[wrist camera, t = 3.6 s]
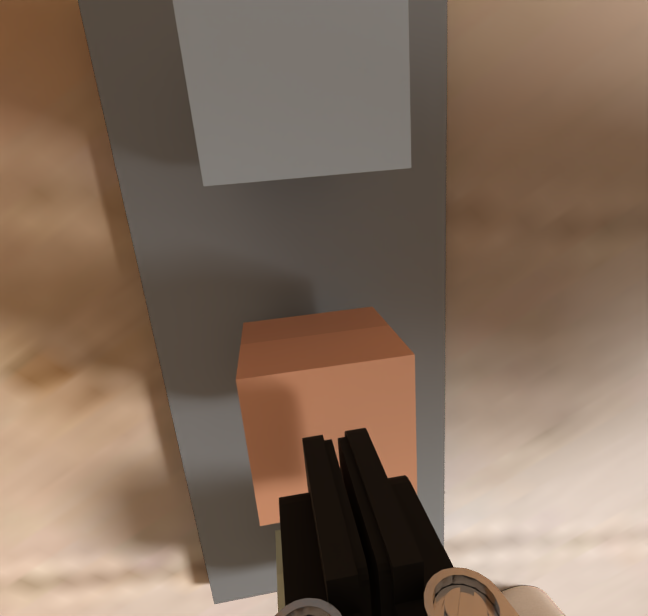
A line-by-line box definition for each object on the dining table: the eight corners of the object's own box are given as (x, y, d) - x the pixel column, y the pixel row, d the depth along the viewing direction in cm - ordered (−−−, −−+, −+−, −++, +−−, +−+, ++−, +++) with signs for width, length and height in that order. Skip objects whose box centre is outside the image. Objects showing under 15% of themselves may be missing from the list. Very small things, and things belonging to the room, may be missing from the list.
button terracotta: (372, 306, 16) (414, 354, 12) (378, 417, 18) (417, 497, 13) (243, 322, 16) (235, 379, 11) (260, 436, 17) (259, 526, 13)
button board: (434, -8, 16) (476, -54, 13) (435, 541, 25) (461, 594, 22) (90, 6, 15) (42, -42, 12) (216, 583, 23) (209, 647, 20)
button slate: (357, 6, 13) (406, -86, 9) (365, 172, 15) (411, 167, 10) (196, 12, 12) (159, -81, 8) (222, 184, 14) (203, 186, 10)
